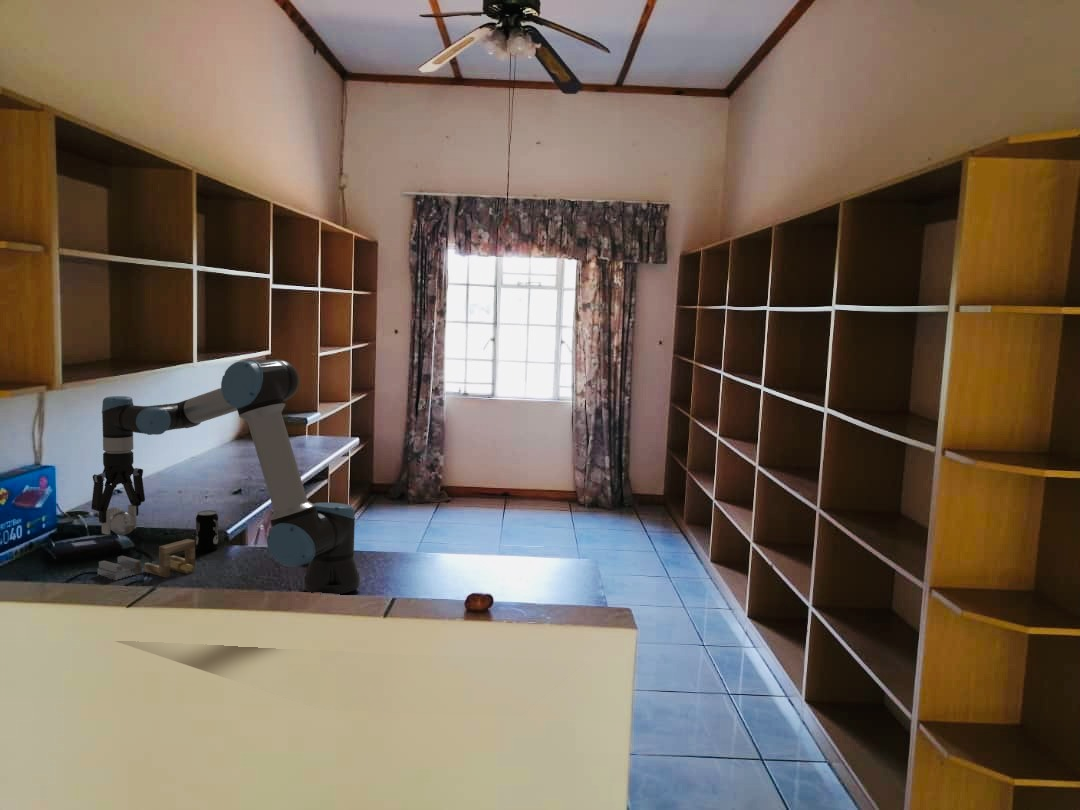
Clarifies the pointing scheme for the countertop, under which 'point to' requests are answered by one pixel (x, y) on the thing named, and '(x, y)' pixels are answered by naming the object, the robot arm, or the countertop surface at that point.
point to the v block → (120, 568)
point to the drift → (181, 567)
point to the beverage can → (207, 530)
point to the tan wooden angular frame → (172, 557)
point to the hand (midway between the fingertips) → (119, 530)
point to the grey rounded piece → (121, 521)
